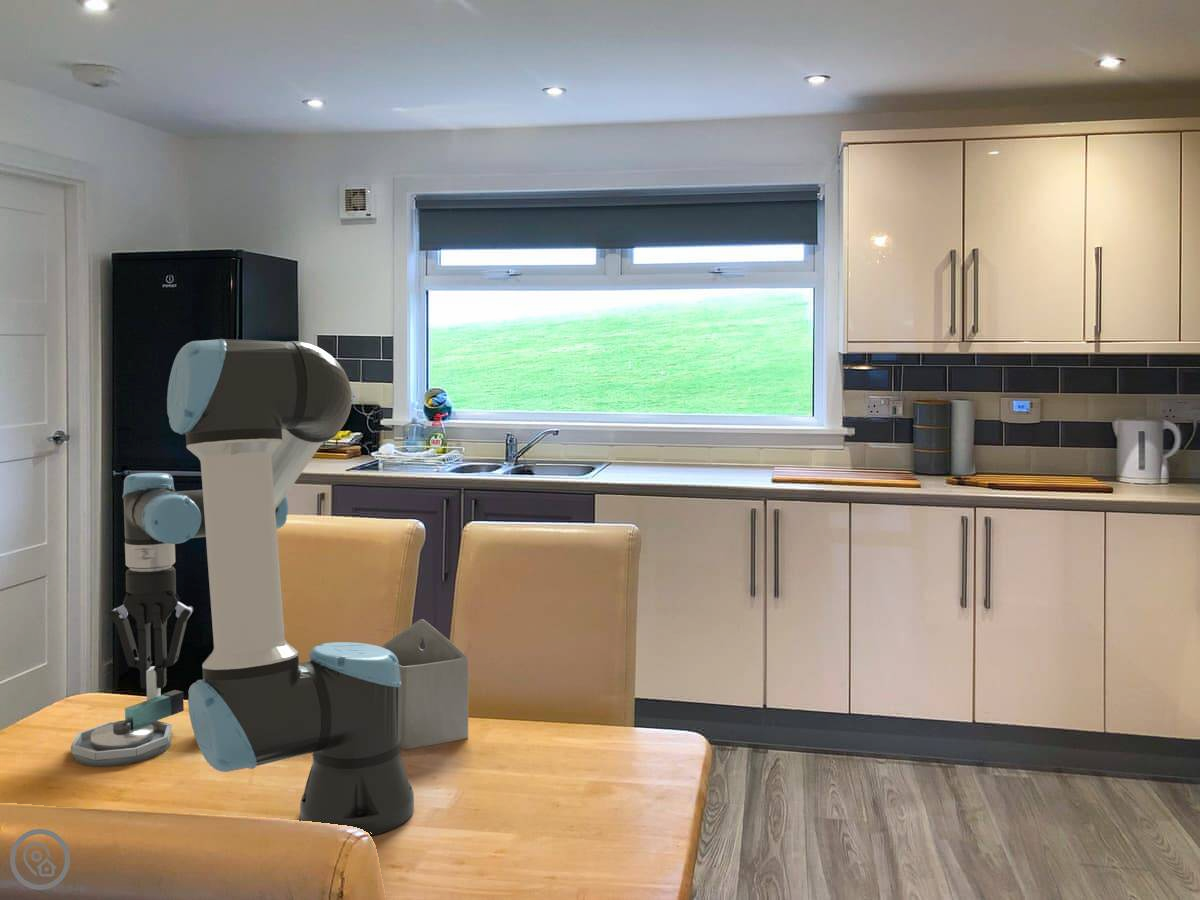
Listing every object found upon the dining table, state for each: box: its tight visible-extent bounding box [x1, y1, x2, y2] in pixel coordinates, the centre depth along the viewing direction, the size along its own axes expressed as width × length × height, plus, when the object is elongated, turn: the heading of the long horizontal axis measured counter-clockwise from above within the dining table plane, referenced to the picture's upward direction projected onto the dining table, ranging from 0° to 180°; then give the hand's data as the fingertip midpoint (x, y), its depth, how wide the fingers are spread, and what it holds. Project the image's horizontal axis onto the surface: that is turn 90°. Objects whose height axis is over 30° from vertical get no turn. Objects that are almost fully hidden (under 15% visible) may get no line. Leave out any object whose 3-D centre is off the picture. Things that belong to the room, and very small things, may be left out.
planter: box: [380, 618, 469, 751], centre depth 164 cm, size 16×8×19 cm, turn 75°
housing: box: [70, 720, 172, 768], centre depth 161 cm, size 14×14×2 cm
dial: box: [91, 689, 185, 751], centre depth 163 cm, size 16×9×5 cm, turn 154°
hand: (154, 706), depth 168 cm, fingers closed
